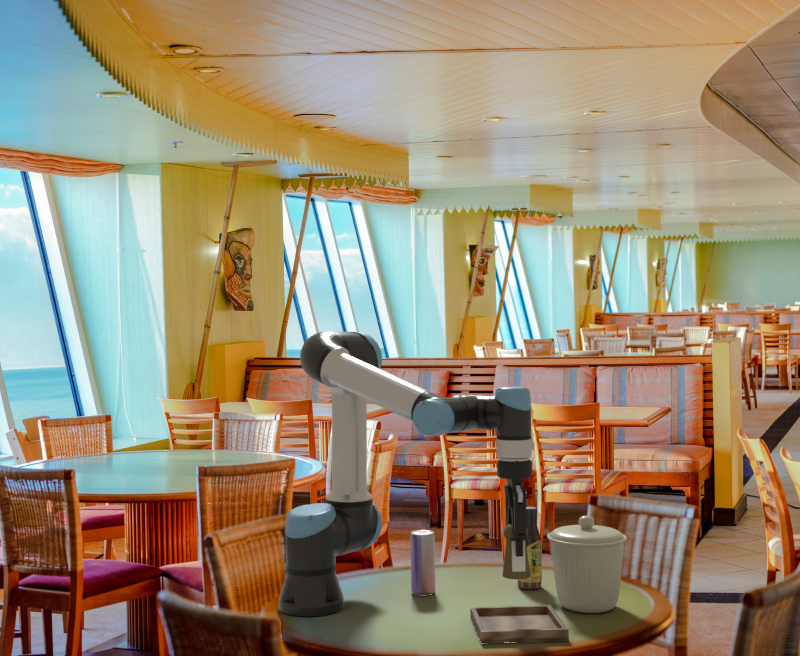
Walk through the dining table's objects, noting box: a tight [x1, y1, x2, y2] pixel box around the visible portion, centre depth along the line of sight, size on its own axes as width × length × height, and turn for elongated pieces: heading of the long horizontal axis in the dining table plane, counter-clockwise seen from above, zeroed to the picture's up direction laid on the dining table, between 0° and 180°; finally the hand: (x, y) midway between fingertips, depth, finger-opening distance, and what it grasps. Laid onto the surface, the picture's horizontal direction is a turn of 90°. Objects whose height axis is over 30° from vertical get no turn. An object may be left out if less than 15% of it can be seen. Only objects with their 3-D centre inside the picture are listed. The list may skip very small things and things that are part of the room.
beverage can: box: [409, 529, 436, 596], centre depth 226 cm, size 6×6×15 cm
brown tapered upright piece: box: [502, 524, 531, 580], centre depth 196 cm, size 6×6×11 cm
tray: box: [469, 604, 570, 644], centre depth 196 cm, size 18×18×2 cm
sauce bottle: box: [516, 506, 543, 590], centre depth 231 cm, size 7×6×20 cm
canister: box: [546, 515, 628, 614], centre depth 212 cm, size 18×18×21 cm
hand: (516, 567), depth 196 cm, fingers closed on brown tapered upright piece, 5 cm apart
